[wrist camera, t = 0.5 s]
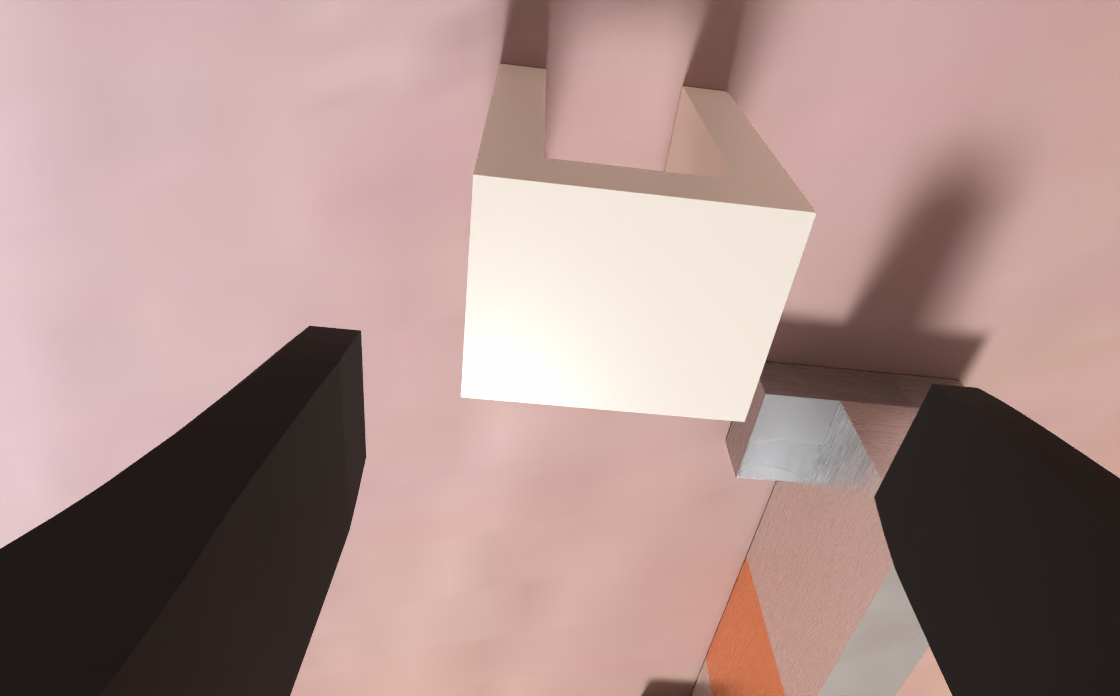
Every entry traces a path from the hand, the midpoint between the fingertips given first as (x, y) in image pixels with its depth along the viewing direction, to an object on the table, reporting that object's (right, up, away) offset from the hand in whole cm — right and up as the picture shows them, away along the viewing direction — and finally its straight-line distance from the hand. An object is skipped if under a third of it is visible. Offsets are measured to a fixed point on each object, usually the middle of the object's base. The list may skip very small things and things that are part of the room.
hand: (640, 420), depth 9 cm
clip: (0, +5, +8) cm, 9 cm away
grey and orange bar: (+6, -8, +17) cm, 19 cm away
